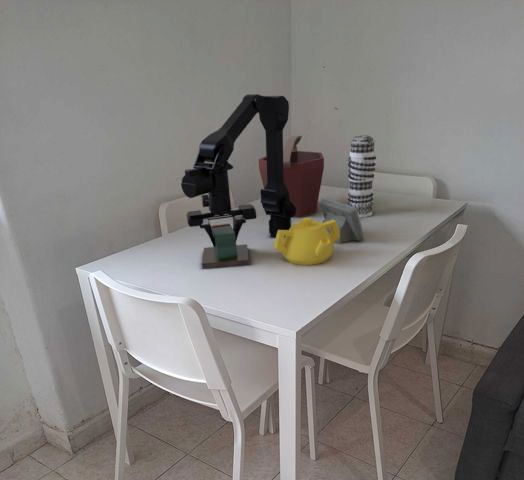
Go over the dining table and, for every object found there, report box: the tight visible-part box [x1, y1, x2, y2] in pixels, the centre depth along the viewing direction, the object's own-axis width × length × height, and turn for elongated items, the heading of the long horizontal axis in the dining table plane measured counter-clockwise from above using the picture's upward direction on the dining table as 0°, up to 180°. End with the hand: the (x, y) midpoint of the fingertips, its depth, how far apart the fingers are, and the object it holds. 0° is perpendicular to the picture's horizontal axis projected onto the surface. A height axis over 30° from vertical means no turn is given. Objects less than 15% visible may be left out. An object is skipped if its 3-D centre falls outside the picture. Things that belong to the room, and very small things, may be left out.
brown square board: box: [201, 243, 250, 269], centre depth 142 cm, size 13×13×2 cm
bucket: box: [258, 135, 325, 218], centre depth 173 cm, size 24×22×25 cm
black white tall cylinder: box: [346, 134, 377, 218], centre depth 165 cm, size 9×9×25 cm
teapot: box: [273, 217, 340, 266], centre depth 135 cm, size 20×18×11 cm
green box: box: [211, 222, 237, 260], centre depth 140 cm, size 9×6×7 cm, turn 13°
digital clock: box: [319, 198, 365, 244], centre depth 150 cm, size 16×9×11 cm, turn 20°
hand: (224, 245), depth 141 cm, fingers closed on green box, 5 cm apart
